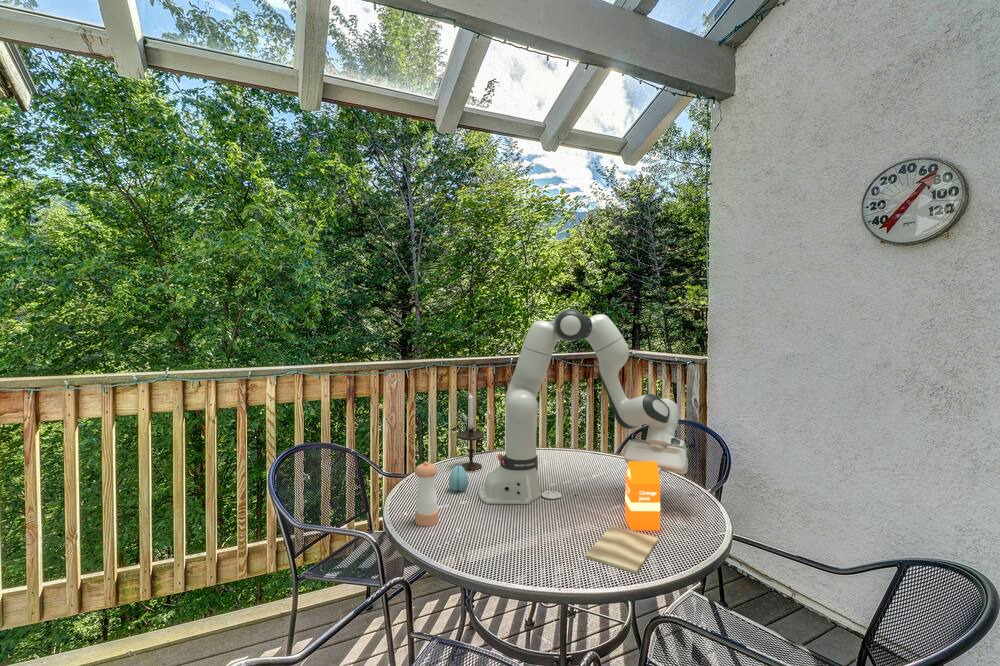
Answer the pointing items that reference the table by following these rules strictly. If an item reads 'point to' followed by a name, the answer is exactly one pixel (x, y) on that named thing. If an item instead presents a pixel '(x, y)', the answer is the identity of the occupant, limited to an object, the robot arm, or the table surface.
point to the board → (622, 549)
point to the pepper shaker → (426, 495)
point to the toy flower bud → (458, 479)
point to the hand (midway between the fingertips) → (650, 479)
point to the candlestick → (471, 437)
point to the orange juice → (642, 495)
